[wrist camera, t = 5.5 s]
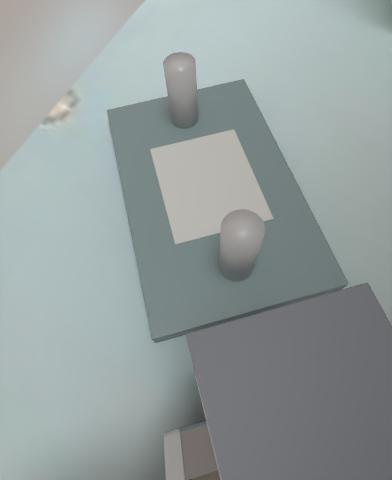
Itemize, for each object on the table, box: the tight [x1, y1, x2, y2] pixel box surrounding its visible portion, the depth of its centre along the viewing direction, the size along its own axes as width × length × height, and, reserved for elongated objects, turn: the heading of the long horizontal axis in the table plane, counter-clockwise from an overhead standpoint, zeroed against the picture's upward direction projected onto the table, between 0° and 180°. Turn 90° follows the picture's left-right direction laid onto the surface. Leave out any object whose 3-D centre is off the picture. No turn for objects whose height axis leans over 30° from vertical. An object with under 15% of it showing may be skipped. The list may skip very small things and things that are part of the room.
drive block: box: [186, 283, 392, 480], centre depth 10 cm, size 6×5×9 cm
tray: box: [107, 52, 348, 342], centre depth 18 cm, size 16×10×5 cm, turn 15°
